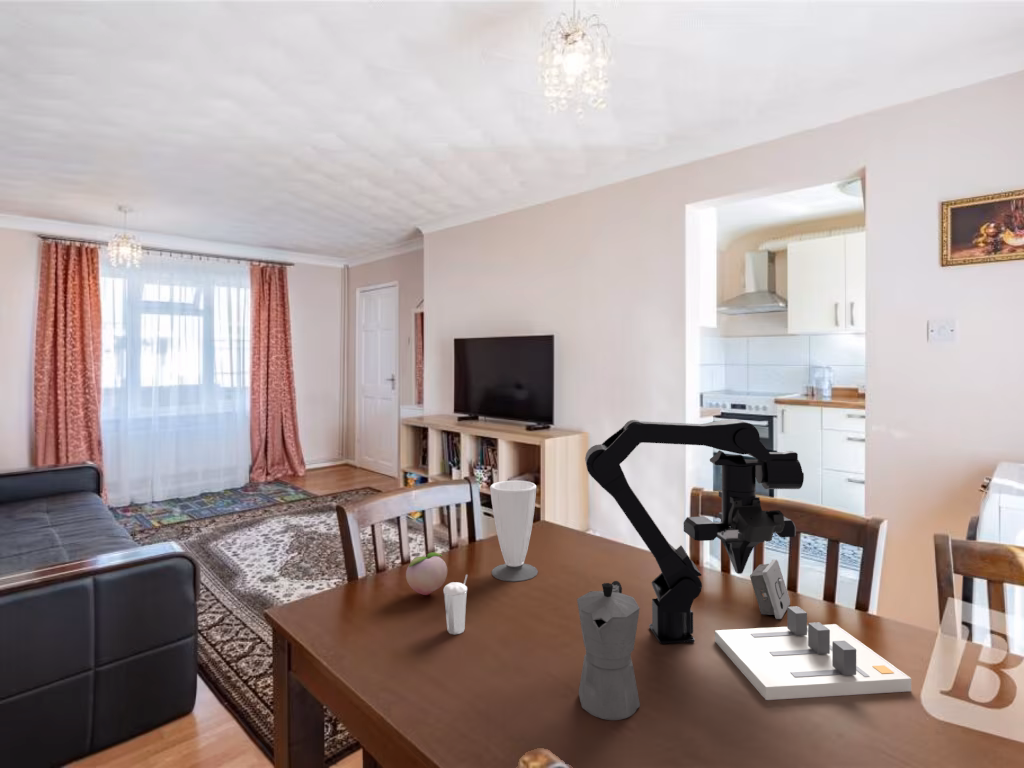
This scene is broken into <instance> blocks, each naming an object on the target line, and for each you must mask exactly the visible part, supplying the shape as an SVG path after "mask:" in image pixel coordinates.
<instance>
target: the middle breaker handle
mask: <svg viewBox="0 0 1024 768" xmlns="http://www.w3.org/2000/svg"><path fill="white" fill-rule="evenodd" d="M824 625H825V624H822V623H821V622H820V621H818V622H817V621H816V622H815V621H814V622H807V626H808V646H809V647H810V648H811V649H812V650H814V651H815V652H816V653H817V654H830V630H829V629H828V628H827V627H825V626H824Z"/></svg>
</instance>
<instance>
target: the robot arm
mask: <svg viewBox="0 0 1024 768" xmlns="http://www.w3.org/2000/svg"><path fill="white" fill-rule="evenodd" d="M760 439H761V438H760V433H759V431H758V429H757V427H755V425H753V424H752V423H749V422H746V421H743V420H741V419H736V418H730V419H724V420H723V419H721V420H715V421H710V422H705V423H689V422H688V423H687V422H686V423H683V422H666V421H664V422H663V421H662V422H661V421H640V420H637V419H630V420H629V421H627V422H626V423H625V424H624V425H623V426H622V427H621V428H620V429H618V430H617V431H616V432H614V433H613V434H612V435H610V436H609V437H608V438H607V439H606V440H604V441H603V442H602V443H601V444H594V445H593V446H591V447H590V448H589V449H587V452H586V454H585V458H584V459H585V460H584V462H585V465H586V470H587V472H588V474H589V475H590V476H591V478H592V479H594V481H595V482H597V484H599V486H600V487H601V488H602V489H603V490H605V491H606V492H607V493H608V494H609V495H610V496H611V497H612V498H613V499H614V501H615V502H616V504H617V505H618V506H619V507H620V509H621V511H622V512H623V513H624V515H625V516H626V518H627V519H628V521H629V522H630V524H631V525H632V527H633V528H634V530H635V531H636V532H637V533H638V535H639V536H640V538H641V539H642V541H643V542H644V544H645V546H646V547H647V549H648V550H649V551H650V553H651V554H652V556H653V557H654V559H655V561H656V563H657V565H658V567H659V569H660V572H661V573H659V575H657V577H655V578H654V579H653V580H652V581H651V586H652V588H653V591H654V593H655V595H656V597H655V598H652V599H651V605H652V606H651V610H652V613H651V614H652V622H651V623H649V624H648V626H649V629H650V630H651V631H652V634H653V635H654V636H655V638H656V640H657V641H658V643H660V644H678V643H679V644H682V643H694V642H695V637H694V636H693V635H692V634H694V612H693V611H692V609H691V608H692V605H693V603H694V600H695V599H697V598H698V597H699V596H700V594H701V592H702V589H703V583H702V581H701V578H700V577H702V572H701V571H700V570H699V568H698V567H697V565H696V564H695V563H694V561H693V560H692V559H691V557H690V556H689V554H688V552H686V549H685V548H684V547H683V545H679V546H678V547H677V548H675V547H674V546H673V545H672V544H670V543H669V542H668V540H667V538H666V536H665V535H664V534H663V533H662V531H661V530H660V529H659V526H658V525H657V524H656V522H655V521H654V519H653V518H652V516H651V515H650V514H649V512H648V511H647V509H646V507H645V506H644V505H643V504H642V502H641V500H640V499H639V498H638V496H637V495H636V494H635V492H634V490H633V489H632V487H631V486H630V484H629V483H628V482H629V481H628V480H627V478H626V475H625V473H624V471H623V469H622V467H621V465H620V464H622V463H623V462H624V461H626V459H627V458H628V457H629V456H630V455H631V453H633V451H634V450H635V449H637V447H638V446H639V445H640V444H642V443H644V444H647V443H648V444H665V445H687V446H689V445H690V446H705V447H710V448H713V449H717V450H718V451H717V452H716V453H715V455H713V456H712V457H711V458H709V462H710V463H711V464H713V465H715V466H721V490H719V491H718V497H719V498H721V512H718V519H720V520H721V521H712V520H710V519H709V518H708V517H706V516H705V515H704V516H687V517H686V518H685V519H684V521H683V532H684V533H685V534H686V535H688V536H689V537H690V538H691V539H693V540H694V541H697V542H698V541H699V542H702V541H703V542H705V541H707V542H709V541H714V540H715V539H716V538H718V539H719V540H720V541H721V543H722V544H723V546H724V548H725V550H726V553H727V555H728V557H729V560H730V562H731V564H732V567H733V570H734V571H735V573H736V574H740V575H742V574H743V573H744V570H745V567H746V565H747V562H748V560H749V558H750V556H751V553H752V552H753V550H754V548H756V546H757V545H759V544H760V543H761V544H762V543H765V542H766V543H767V542H772V541H773V537H774V534H776V535H777V536H778V537H779V538H795V537H796V535H797V534H796V533H797V527H796V525H795V522H794V521H793V520H792V519H790V518H789V517H788V518H787V517H786V516H785V515H784V514H783V513H782V511H781V510H779V509H778V510H763V509H762V505H761V500H760V499H761V498H760V497H759V496H758V495H757V494H756V491H757V490H756V486H757V485H756V482H757V483H758V484H761V486H762V487H763V488H764V489H765V490H800V489H801V488H802V487H803V484H804V481H805V480H804V479H805V477H804V476H805V475H804V472H803V469H802V464H801V462H800V460H799V456H798V452H796V451H793V450H783V451H769V450H768V449H767V448H766V447H765V446H764V444H763V443H762V442H761V440H760ZM723 451H725V452H728V453H733V454H726V453H725V452H723ZM734 453H735V454H734ZM743 455H748V456H750V457H752V458H754V459H745V458H744V456H743Z"/></svg>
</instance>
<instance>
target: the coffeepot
mask: <svg viewBox="0 0 1024 768" xmlns="http://www.w3.org/2000/svg"><path fill="white" fill-rule="evenodd" d="M621 584H622V583H621V582H620V581H618V580H614V581H612V582H611V583H609V582H604V583H602V584H601V588H602V590H594V591H593V590H590V591H589V592H587V593H585V594H583V595H581V596H579V597H578V598H576V601H577V608H578V614H579V621H580V628H581V634H582V640H583V641H582V642H583V645H584V646H583V647H584V648H585V654H584V657H583V661H582V662H583V663H582V669H581V675H580V683H579V686H578V687H579V688H578V697H579V701H580V704H581V708H582V709H583V710H584V711H586V712H587V713H588V714H590V715H591V716H594V717H596V718H598V719H602V720H607V721H618V720H619V721H621V720H624V719H627V718H630V717H632V716H633V715H634V714H635V713H636V712H637V710H638V708H640V707H641V704H640V703H641V702H640V698H639V693H638V687H637V686H638V685H637V681H636V676H635V668H634V664H633V660H632V656H631V655H632V654H631V653H632V652H633V651H634V650H635V642H636V637H637V636H636V635H637V629H638V621H639V614H640V610H641V608H640V606H639V605H638V603H637V601H636V600H635V598H634V597H633V596H630V595H628V594H626V593H625V594H624V593H623V588H622V587H623V586H622V585H621Z"/></svg>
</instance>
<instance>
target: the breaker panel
mask: <svg viewBox="0 0 1024 768" xmlns="http://www.w3.org/2000/svg"><path fill="white" fill-rule="evenodd" d="M823 625H824V626H825V627H827V628H828V629H829V630H830V654H817V653H816V652H815V651H814V650H812V649H811V648H810V647H809V646H808V625H807V635H801V636H796V635H795V634H793V633H792V632H791V631H790V630H789V629H787V626H779V627H778V626H776V627H773V626H772V627H756V628H753V627H752V628H740V629H739V628H737V629H736V628H735V629H733V628H732V629H721V630H720V629H719V630H718V629H715V630H714V642H715V644H716V645H718V647H719V648H720V649H721V651H723V653H724V654H725V655H726V656H727V657H728V658H729V660H731V661H732V662H733V664H734V665H735V666H736V668H737V669H738V670H739V671H740V672H741V673H742V674H743V675H744V676H745V678H746V679H747V680H748V681H749V682H750V684H751V685H752V686H753V687H754V688H755V689H756V690H757V692H759V694H760V696H762V697H763V698H764V700H765V701H773V700H776V701H777V700H787V699H788V700H789V699H808V698H822V697H837V696H841V697H842V696H853V695H858V696H859V695H869V694H870V695H873V694H886V693H901V692H902V693H905V692H906V693H907V692H912V678H911V677H910V676H909V675H908V674H906V673H904V672H903V671H902V670H900V669H899V668H897V667H896V666H894V665H893V664H892V663H890V662H889V661H888V660H886V659H885V658H883V657H882V656H881V655H880V654H878V653H877V652H875V651H874V650H873V649H871V648H870V647H868V646H867V645H865V644H864V643H862V641H860V640H859V639H857V638H856V637H854V636H853V635H852V634H850V633H849V632H847V631H846V630H845V629H843V628H841V626H839V625H838V624H836V623H832V624H823ZM833 641H846V642H847V643H849V644H850V645H851V646H853V647H854V648H855V649H856V675H843V674H841V673H840V672H839V671H838V670H837V669H835V668H834V667H833V666H832V644H833Z"/></svg>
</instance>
